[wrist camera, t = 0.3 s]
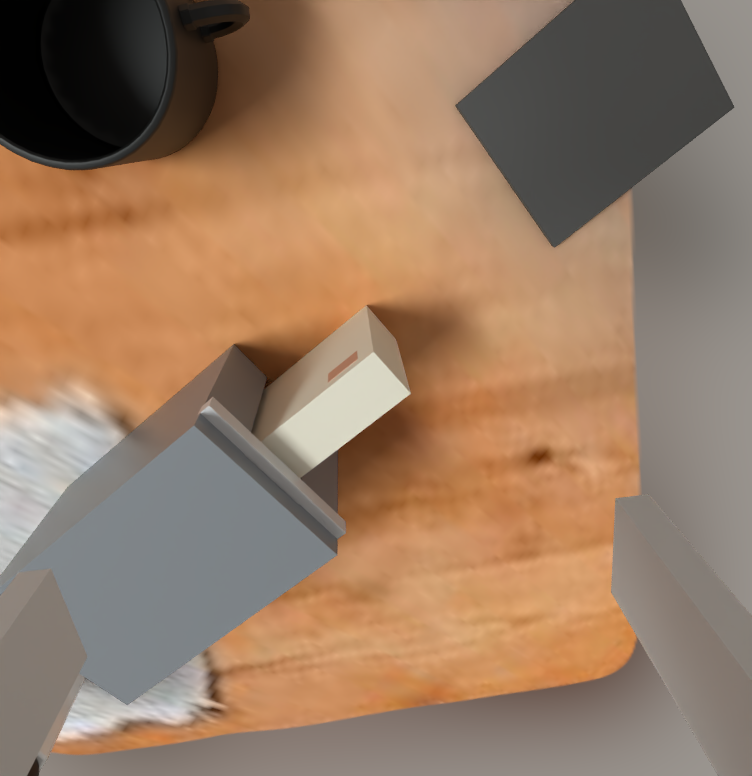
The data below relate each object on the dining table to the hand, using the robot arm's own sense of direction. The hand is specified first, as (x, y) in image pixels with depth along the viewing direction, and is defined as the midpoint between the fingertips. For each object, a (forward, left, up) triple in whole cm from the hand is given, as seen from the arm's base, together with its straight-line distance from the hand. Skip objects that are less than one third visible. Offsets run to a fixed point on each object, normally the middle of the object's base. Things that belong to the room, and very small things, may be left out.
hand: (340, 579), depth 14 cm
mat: (+1, +18, -25) cm, 31 cm away
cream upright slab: (+3, -5, -25) cm, 26 cm away
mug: (-16, +1, -25) cm, 30 cm away
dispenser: (+3, -15, -25) cm, 29 cm away
